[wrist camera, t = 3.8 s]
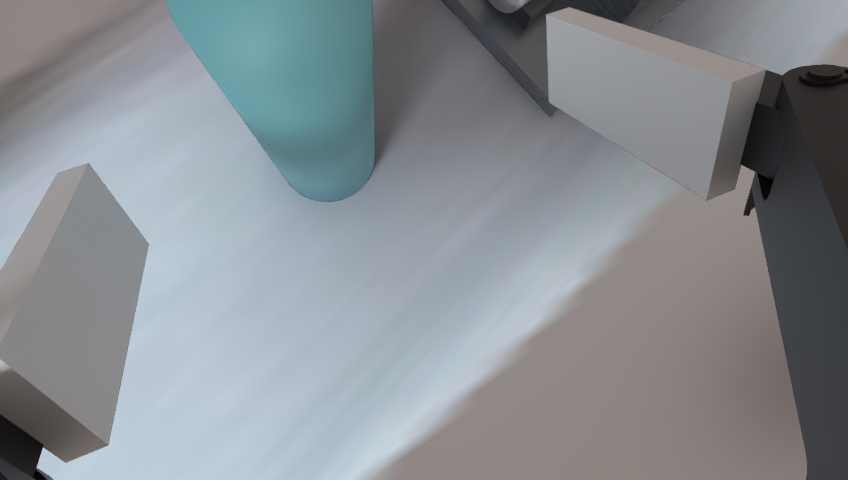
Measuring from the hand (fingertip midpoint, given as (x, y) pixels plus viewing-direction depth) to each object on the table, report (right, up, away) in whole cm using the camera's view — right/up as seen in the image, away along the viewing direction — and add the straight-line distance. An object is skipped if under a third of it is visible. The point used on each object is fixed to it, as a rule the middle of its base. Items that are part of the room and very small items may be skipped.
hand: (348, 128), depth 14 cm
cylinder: (-2, +1, +8) cm, 9 cm away
